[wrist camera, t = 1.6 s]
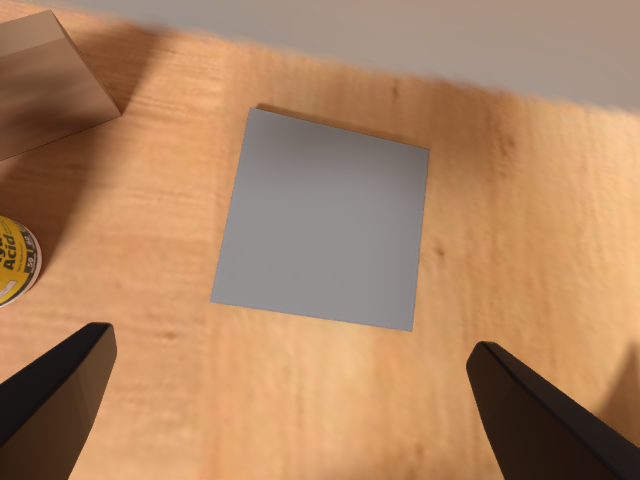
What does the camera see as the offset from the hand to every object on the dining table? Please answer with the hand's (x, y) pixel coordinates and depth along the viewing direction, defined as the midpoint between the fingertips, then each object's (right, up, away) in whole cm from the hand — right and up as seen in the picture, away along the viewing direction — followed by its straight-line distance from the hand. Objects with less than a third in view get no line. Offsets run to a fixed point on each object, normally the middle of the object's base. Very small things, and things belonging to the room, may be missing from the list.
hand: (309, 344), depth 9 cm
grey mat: (+1, +4, +15) cm, 16 cm away
